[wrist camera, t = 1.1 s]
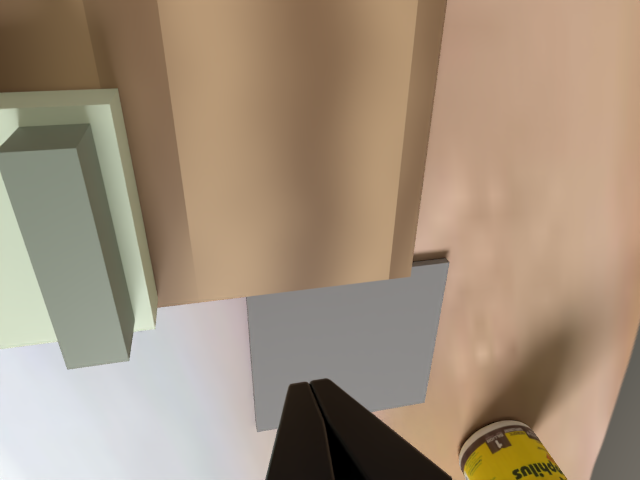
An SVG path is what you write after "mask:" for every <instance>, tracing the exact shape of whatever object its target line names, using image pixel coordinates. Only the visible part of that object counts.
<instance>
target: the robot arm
mask: <svg viewBox="0 0 640 480" xmlns="http://www.w3.org/2000/svg"><path fill="white" fill-rule="evenodd" d="M265 480H452V477H451V476H449V475H448V474H447V473H446V472H444V471H443V470H442V469H441V468H439V467H438V466H437V465H436V464H434V463H433V462H432V461H431V460H430V459H428V458H427V457H426V456H425V455H423V454H422V453H421V452H420V451H418V450H417V449H416V448H415V447H413V446H412V445H411V444H410V443H408V442H407V441H406V440H405V439H403V438H402V437H401V436H400V435H398V434H397V433H396V432H395V431H394V430H392V429H391V428H390V427H389V426H387V425H386V424H385V423H384V422H382V421H381V420H380V419H379V418H377V417H376V416H375V415H374V414H372V413H371V412H370V411H369V410H367V409H366V408H365V407H364V406H362V405H361V404H360V403H359V402H358V401H356V400H355V399H354V398H353V397H351V396H350V395H349V394H348V393H346V392H345V391H344V390H343V389H341V388H340V387H339V386H338V385H336V384H335V383H334V382H333V381H331V380H330V379H328V378H324V379H317V380H312V381H310V382H309V383H308V382H306V381H305V382H299V383H293V384H290V385H289V386H288V389H287V393H286V397H285V401H284V405H283V409H282V414H281V418H280V422H279V426H278V430H277V434H276V438H275V442H274V446H273V450H272V454H271V459H270V463H269V467H268V471H267V475H266V479H265Z"/></svg>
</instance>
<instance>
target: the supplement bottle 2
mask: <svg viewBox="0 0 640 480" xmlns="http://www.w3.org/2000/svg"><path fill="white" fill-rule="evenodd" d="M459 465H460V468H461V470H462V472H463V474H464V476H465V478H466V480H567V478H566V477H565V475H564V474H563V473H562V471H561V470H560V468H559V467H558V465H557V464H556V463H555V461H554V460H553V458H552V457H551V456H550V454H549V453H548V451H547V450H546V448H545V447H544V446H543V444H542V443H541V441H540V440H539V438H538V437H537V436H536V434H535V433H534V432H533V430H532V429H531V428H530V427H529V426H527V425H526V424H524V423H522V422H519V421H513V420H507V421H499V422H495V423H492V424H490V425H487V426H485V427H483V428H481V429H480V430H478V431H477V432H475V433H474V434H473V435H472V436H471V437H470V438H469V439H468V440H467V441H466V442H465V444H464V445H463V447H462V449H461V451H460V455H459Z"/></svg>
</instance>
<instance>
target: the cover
mask: <svg viewBox="0 0 640 480" xmlns="http://www.w3.org/2000/svg"><path fill="white" fill-rule="evenodd" d="M157 304H158V296H157V291H156V286H155V280H154V275H153V270H152V265H151V260H150V254H149V249H148V244H147V239H146V233H145V228H144V223H143V218H142V212H141V207H140V202H139V197H138V192H137V186H136V181H135V176H134V171H133V165H132V160H131V155H130V150H129V145H128V139H127V134H126V129H125V124H124V118H123V113H122V108H121V103H120V98H119V92H118V88H113V89H86V90H59V91H32V92H5V93H0V349H6V348H13V347H21V346H29V345H36V344H44V343H52V342H58V343H59V346H60V349H61V352H62V355H63V358H64V361H65V364H66V367H67V370H68V369H75V368H82V367H89V366H96V365H103V364H110V363H117V362H124V361H129V358H130V351H131V344H132V338H133V332H136V331H144V330H152V329H155V326H156V315H157Z"/></svg>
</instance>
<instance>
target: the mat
mask: <svg viewBox="0 0 640 480" xmlns="http://www.w3.org/2000/svg"><path fill="white" fill-rule="evenodd" d="M448 268H449V261H448V260H447V259H446V258H443V259H435V260H426V261H418V262H412V269H411V277H404V278H396V279H388V280H380V281H372V282H363V283H355V284H347V285H339V286H331V287H323V288H314V289H306V290H298V291H290V292H282V293H273V294H265V295H257V296H249V297H246V299H247V312H248V325H249V338H250V351H251V365H252V378H253V391H254V404H255V417H256V428H257V432H261V431H266V430H272V429H278V426H279V422H280V418H281V414H282V409H283V405H284V401H285V397H286V393H287V389H288V386H289V385H290V384H293V383H299V382H305V381H306V382H308V383H309V382H310V381H312V380H317V379H324V378H328V379H330V380H331V381H333V382H334V383H335V384H336V385H338V386H339V387H340V388H341V389H343V390H344V391H345V392H346V393H348V394H349V395H350V396H351V397H353V398H354V399H355V400H356V401H358V402H359V403H360V404H361V405H362V406H364V407H365V408H366V409H367V410H369V411H370V412H374V411H379V410H385V409H391V408H396V407H402V406H408V405H413V404H419V403H424V402H425V397H426V391H427V386H428V380H429V374H430V369H431V363H432V357H433V352H434V346H435V341H436V335H437V329H438V324H439V318H440V313H441V307H442V301H443V296H444V290H445V284H446V279H447V273H448Z"/></svg>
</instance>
